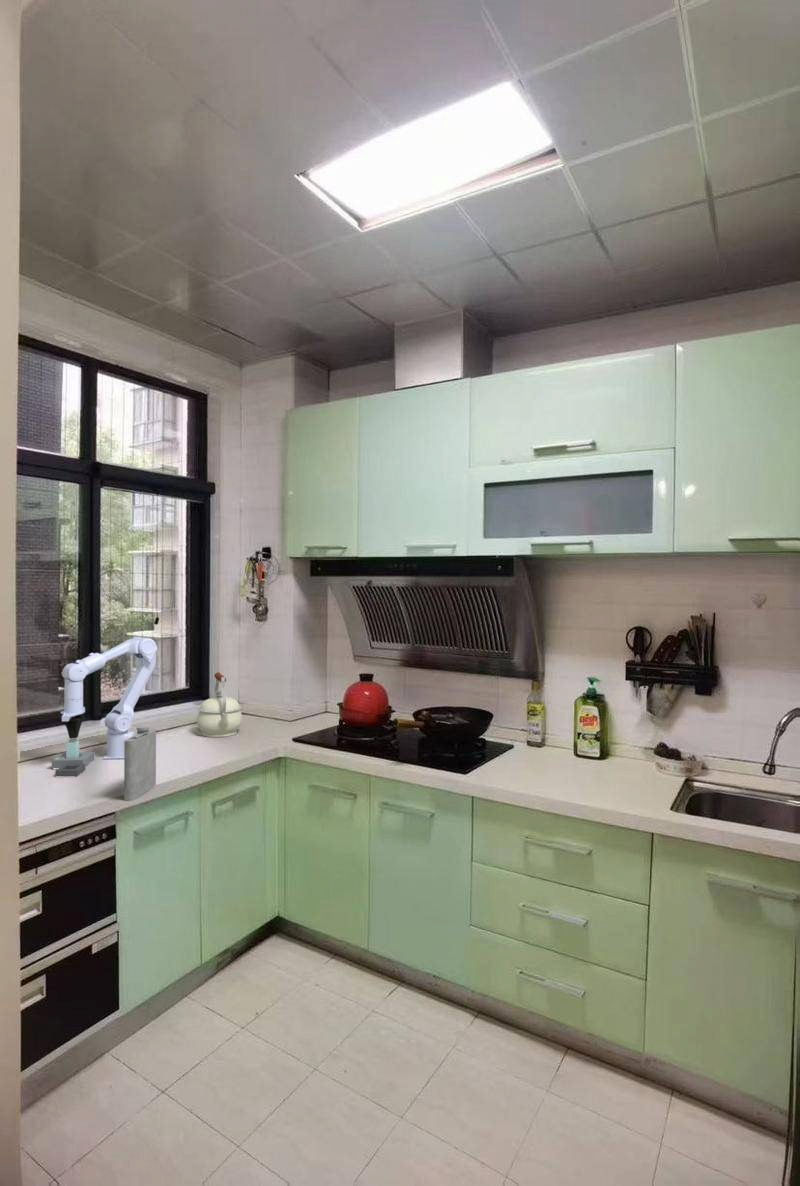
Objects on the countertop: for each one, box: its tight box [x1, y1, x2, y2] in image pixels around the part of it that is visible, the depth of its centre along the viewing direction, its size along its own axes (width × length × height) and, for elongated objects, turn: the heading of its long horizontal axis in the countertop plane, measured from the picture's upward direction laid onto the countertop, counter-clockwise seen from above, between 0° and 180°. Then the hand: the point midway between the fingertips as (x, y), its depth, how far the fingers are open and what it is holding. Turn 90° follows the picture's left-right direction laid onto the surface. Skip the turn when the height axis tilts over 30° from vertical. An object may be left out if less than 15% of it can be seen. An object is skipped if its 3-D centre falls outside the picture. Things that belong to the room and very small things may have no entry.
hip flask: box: [123, 725, 157, 802], centre depth 189 cm, size 16×4×20 cm, turn 176°
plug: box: [65, 738, 80, 758], centre depth 216 cm, size 3×3×9 cm
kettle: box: [196, 672, 243, 738], centre depth 261 cm, size 25×18×25 cm
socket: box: [51, 751, 95, 769], centre depth 216 cm, size 10×10×3 cm
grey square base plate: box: [54, 764, 87, 777], centre depth 206 cm, size 7×7×2 cm
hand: (73, 737), depth 216 cm, fingers closed
